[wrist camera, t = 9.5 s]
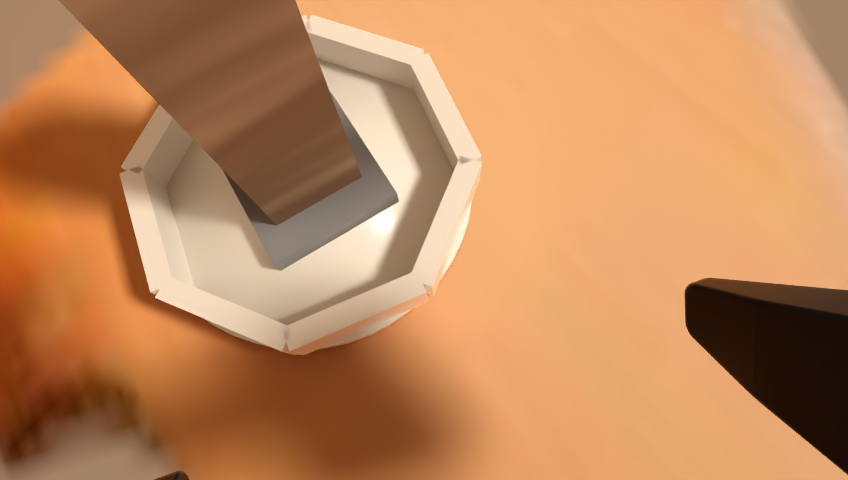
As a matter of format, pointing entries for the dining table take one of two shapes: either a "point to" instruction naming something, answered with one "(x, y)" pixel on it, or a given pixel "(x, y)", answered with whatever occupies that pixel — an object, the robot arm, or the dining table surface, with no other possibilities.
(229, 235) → the saucer
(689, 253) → the dining table surface
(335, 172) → the brown tall rectangular block
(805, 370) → the robot arm
